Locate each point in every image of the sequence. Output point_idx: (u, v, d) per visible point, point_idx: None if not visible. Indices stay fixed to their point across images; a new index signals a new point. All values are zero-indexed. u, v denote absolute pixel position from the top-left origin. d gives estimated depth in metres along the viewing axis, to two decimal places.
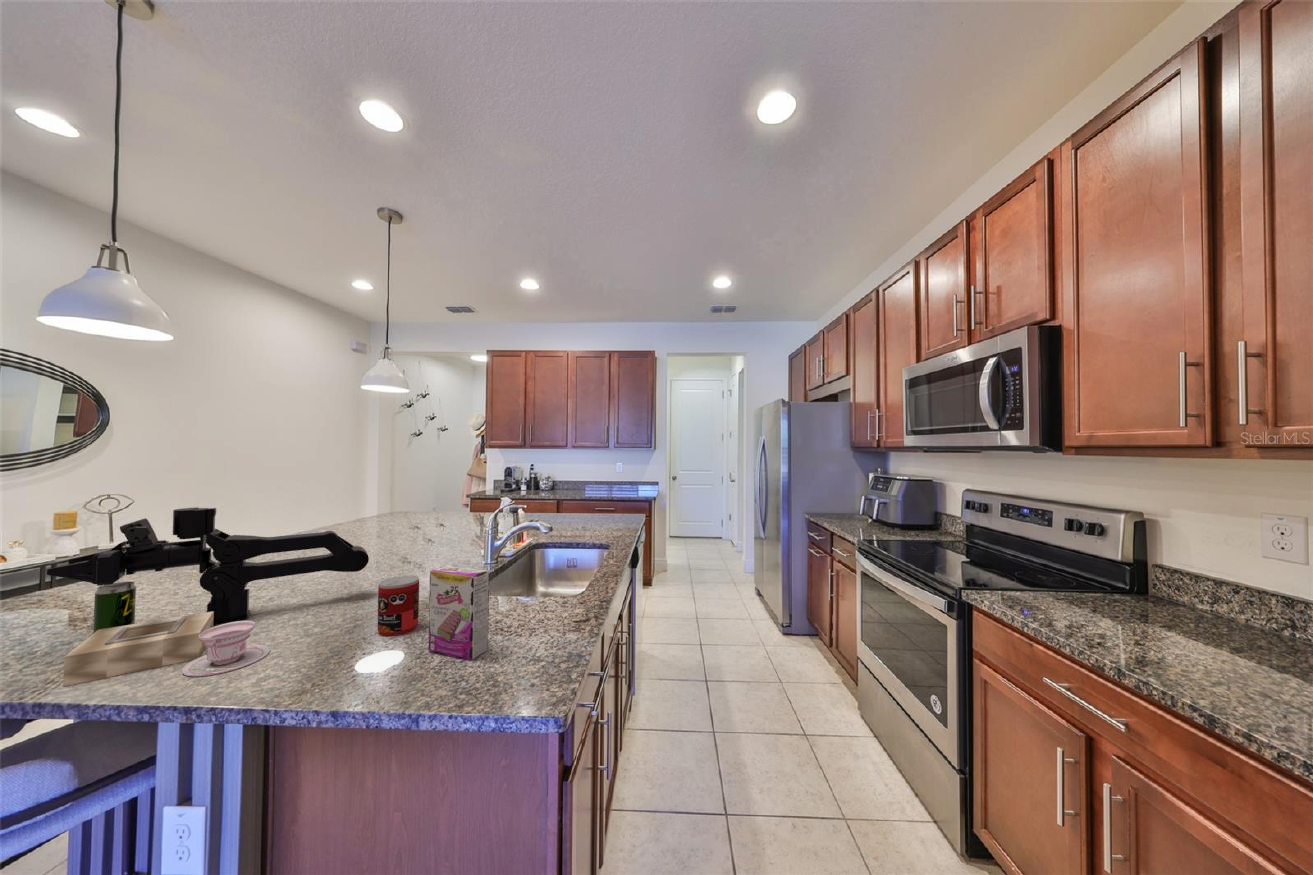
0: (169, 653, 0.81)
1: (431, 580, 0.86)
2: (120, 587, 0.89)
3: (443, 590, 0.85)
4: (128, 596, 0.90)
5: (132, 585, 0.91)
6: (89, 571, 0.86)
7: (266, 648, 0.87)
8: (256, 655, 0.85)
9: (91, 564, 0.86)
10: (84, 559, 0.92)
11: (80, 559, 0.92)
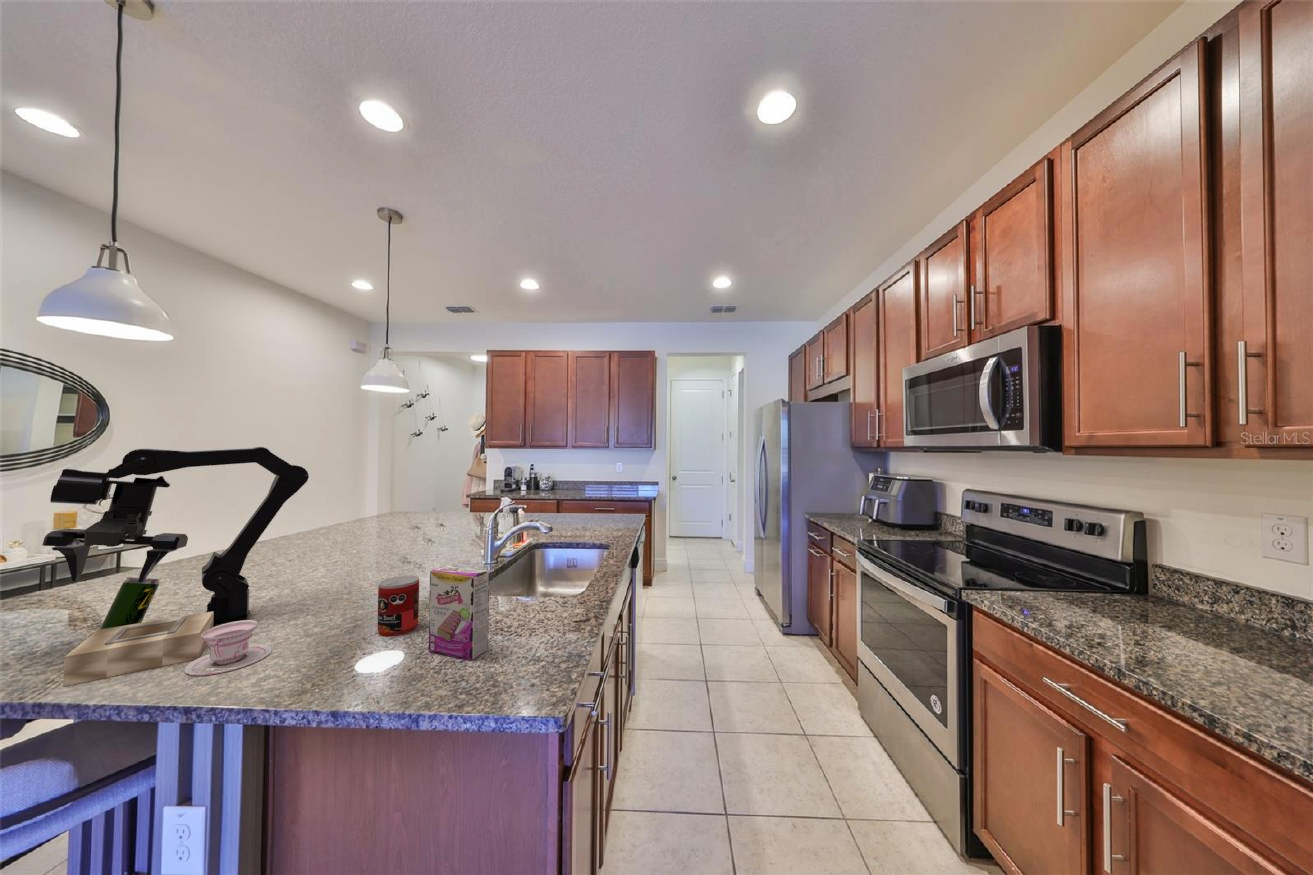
0: (169, 653, 0.81)
1: (431, 580, 0.86)
2: (148, 579, 0.93)
3: (443, 590, 0.85)
4: (150, 590, 0.93)
5: (157, 581, 0.95)
6: None
7: (269, 648, 0.87)
8: (258, 654, 0.85)
9: None
10: (78, 571, 0.88)
11: (76, 574, 0.87)
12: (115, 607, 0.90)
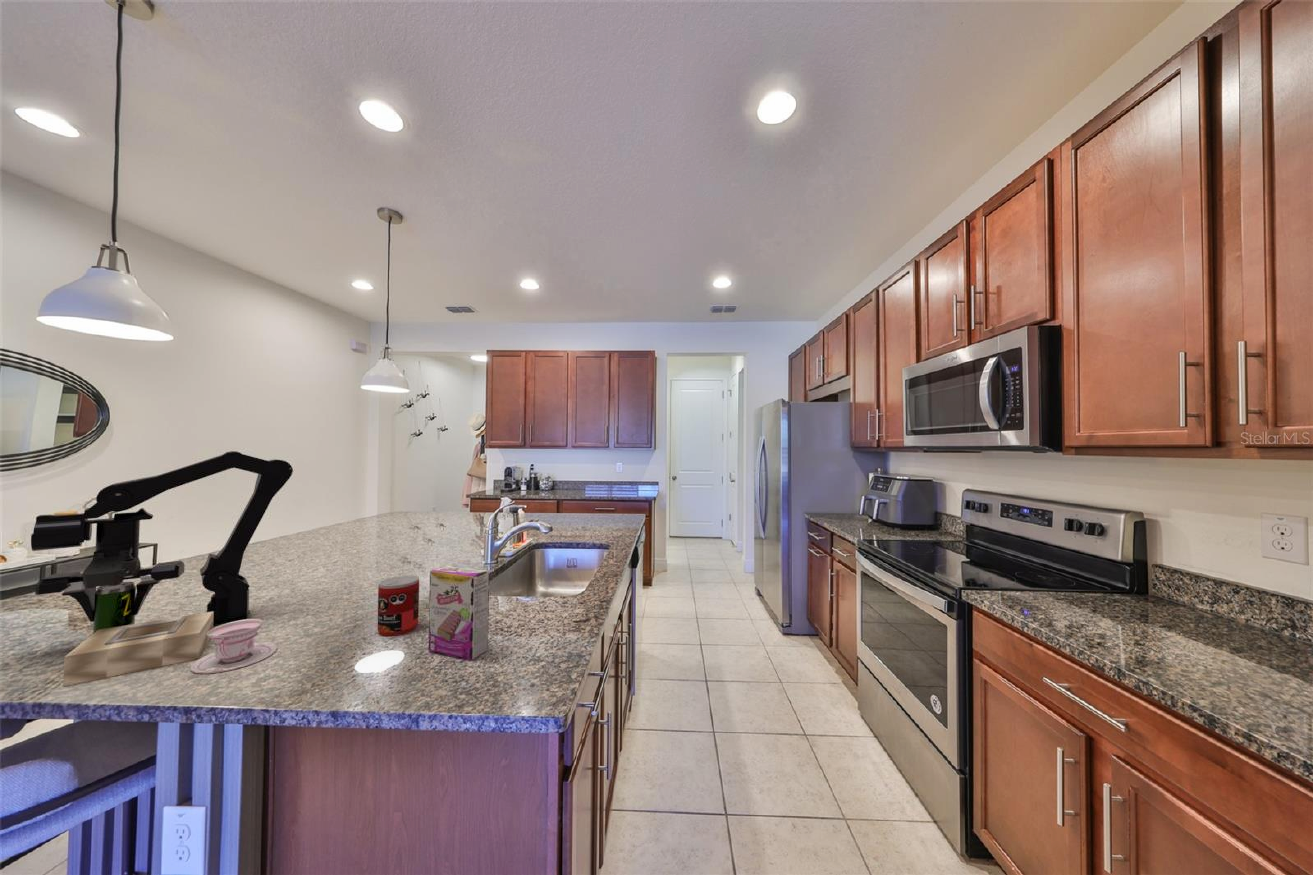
0: (169, 653, 0.81)
1: (431, 580, 0.86)
2: (120, 587, 0.89)
3: (443, 590, 0.85)
4: (128, 596, 0.90)
5: (132, 585, 0.91)
6: None
7: (274, 646, 0.88)
8: (263, 653, 0.86)
9: None
10: (93, 611, 0.88)
11: (92, 614, 0.88)
12: (98, 618, 0.87)
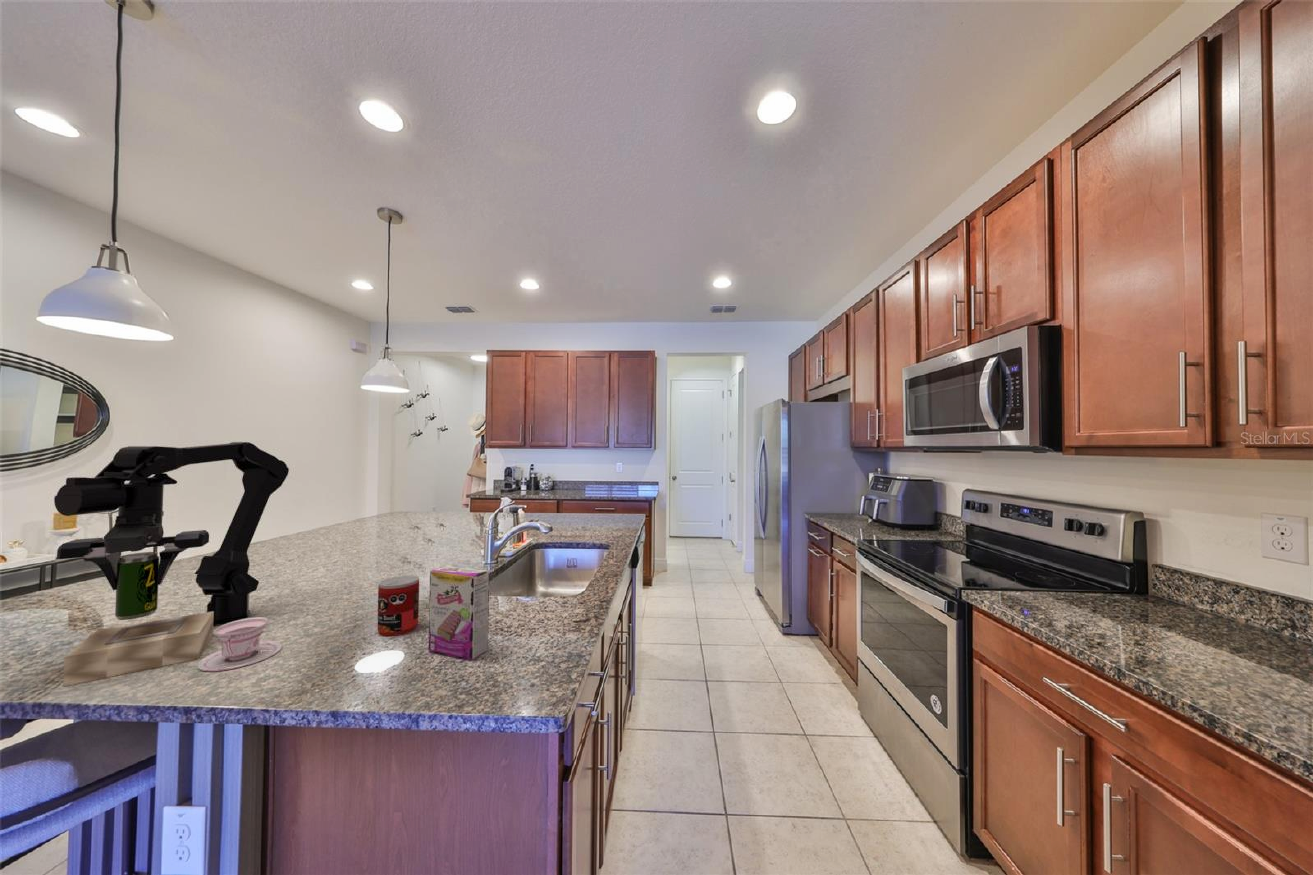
0: (169, 653, 0.81)
1: (431, 580, 0.86)
2: (143, 556, 0.85)
3: (443, 590, 0.85)
4: (151, 566, 0.86)
5: (155, 555, 0.87)
6: None
7: (279, 644, 0.88)
8: (269, 651, 0.86)
9: None
10: (116, 579, 0.84)
11: (115, 582, 0.84)
12: (120, 589, 0.83)
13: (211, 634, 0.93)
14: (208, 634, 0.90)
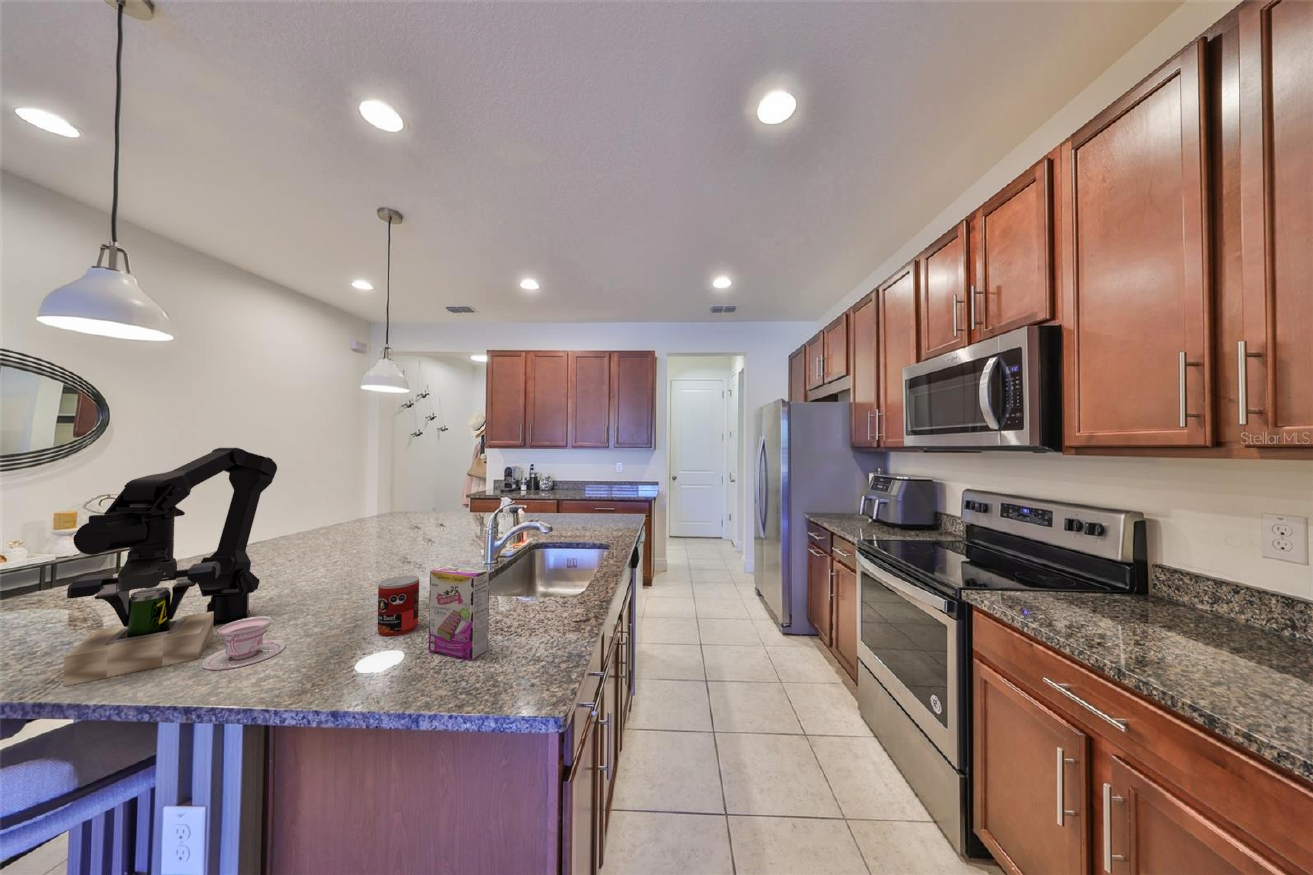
0: (169, 653, 0.81)
1: (431, 580, 0.86)
2: (155, 593, 0.83)
3: (443, 590, 0.85)
4: (163, 603, 0.84)
5: (167, 591, 0.85)
6: None
7: (282, 643, 0.89)
8: None
9: None
10: (127, 615, 0.82)
11: (126, 618, 0.82)
12: (132, 627, 0.81)
13: (211, 634, 0.93)
14: (208, 634, 0.90)
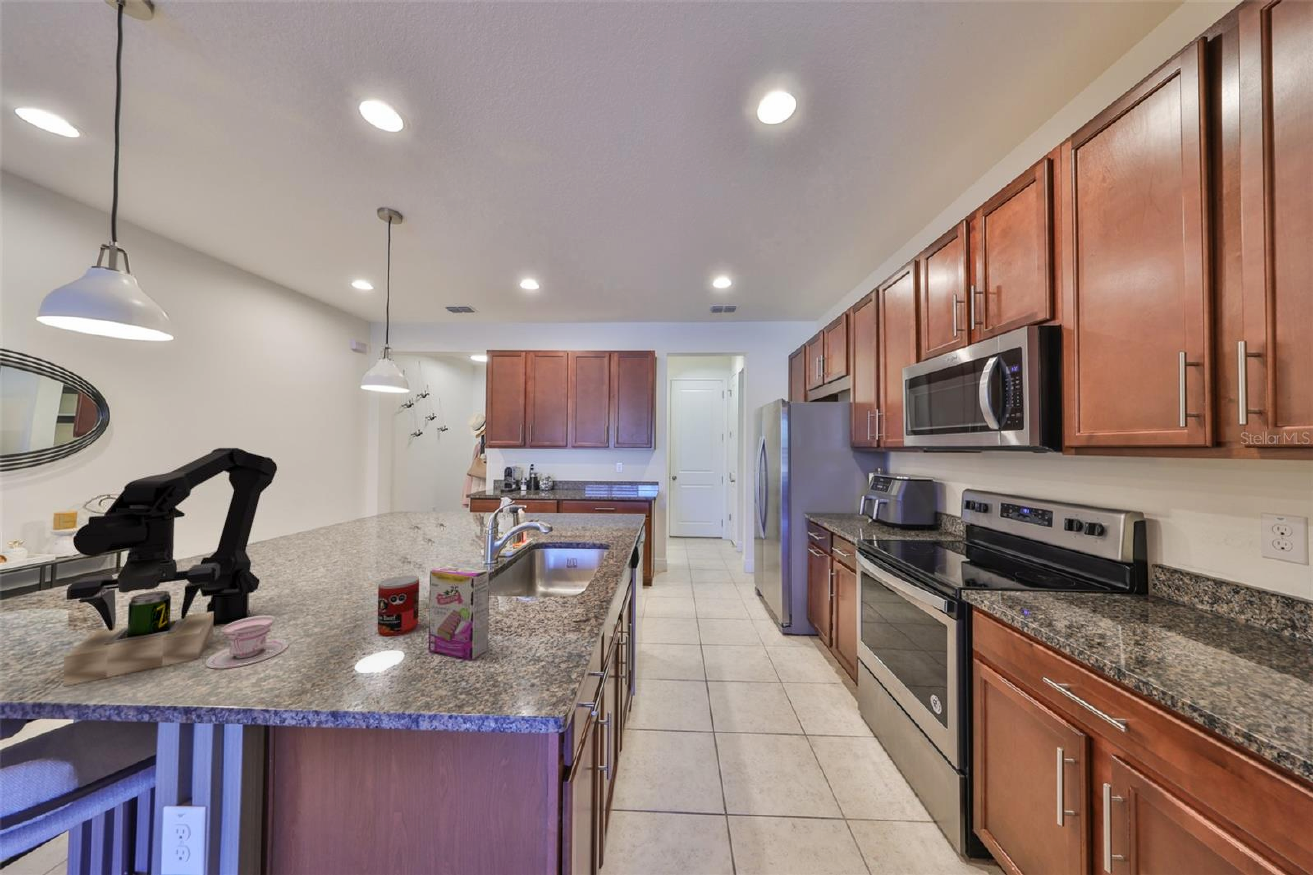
0: (169, 653, 0.81)
1: (431, 580, 0.86)
2: (155, 597, 0.83)
3: (443, 590, 0.85)
4: (163, 607, 0.84)
5: (167, 595, 0.85)
6: None
7: (285, 642, 0.89)
8: (275, 649, 0.87)
9: None
10: (112, 619, 0.81)
11: (111, 622, 0.81)
12: (132, 631, 0.81)
13: (211, 634, 0.93)
14: (208, 634, 0.90)
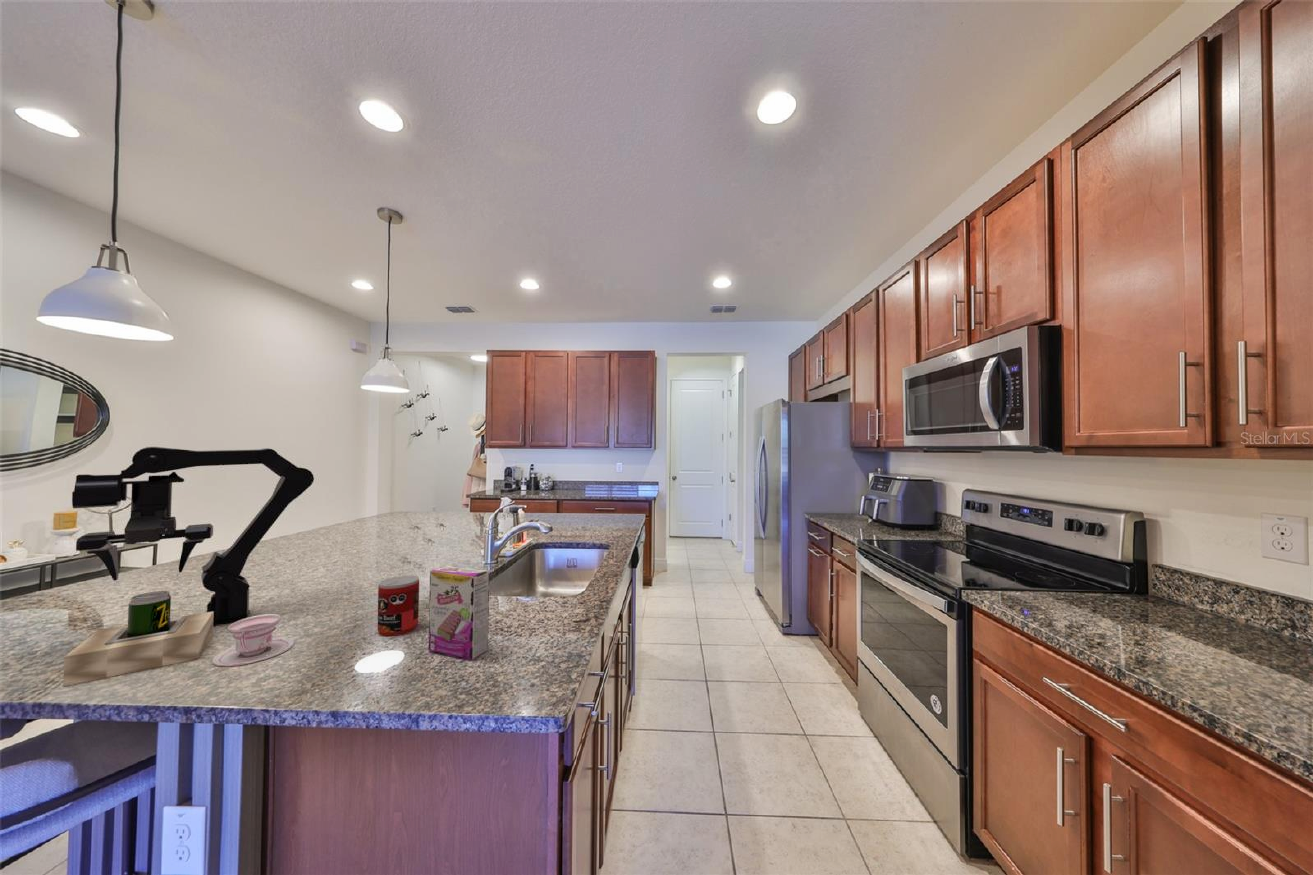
0: (169, 653, 0.81)
1: (431, 580, 0.86)
2: (155, 597, 0.83)
3: (443, 590, 0.85)
4: (163, 607, 0.84)
5: (167, 595, 0.85)
6: None
7: (291, 641, 0.90)
8: (281, 647, 0.88)
9: None
10: (116, 570, 0.90)
11: (115, 573, 0.90)
12: (132, 631, 0.81)
13: (211, 634, 0.93)
14: (208, 634, 0.90)
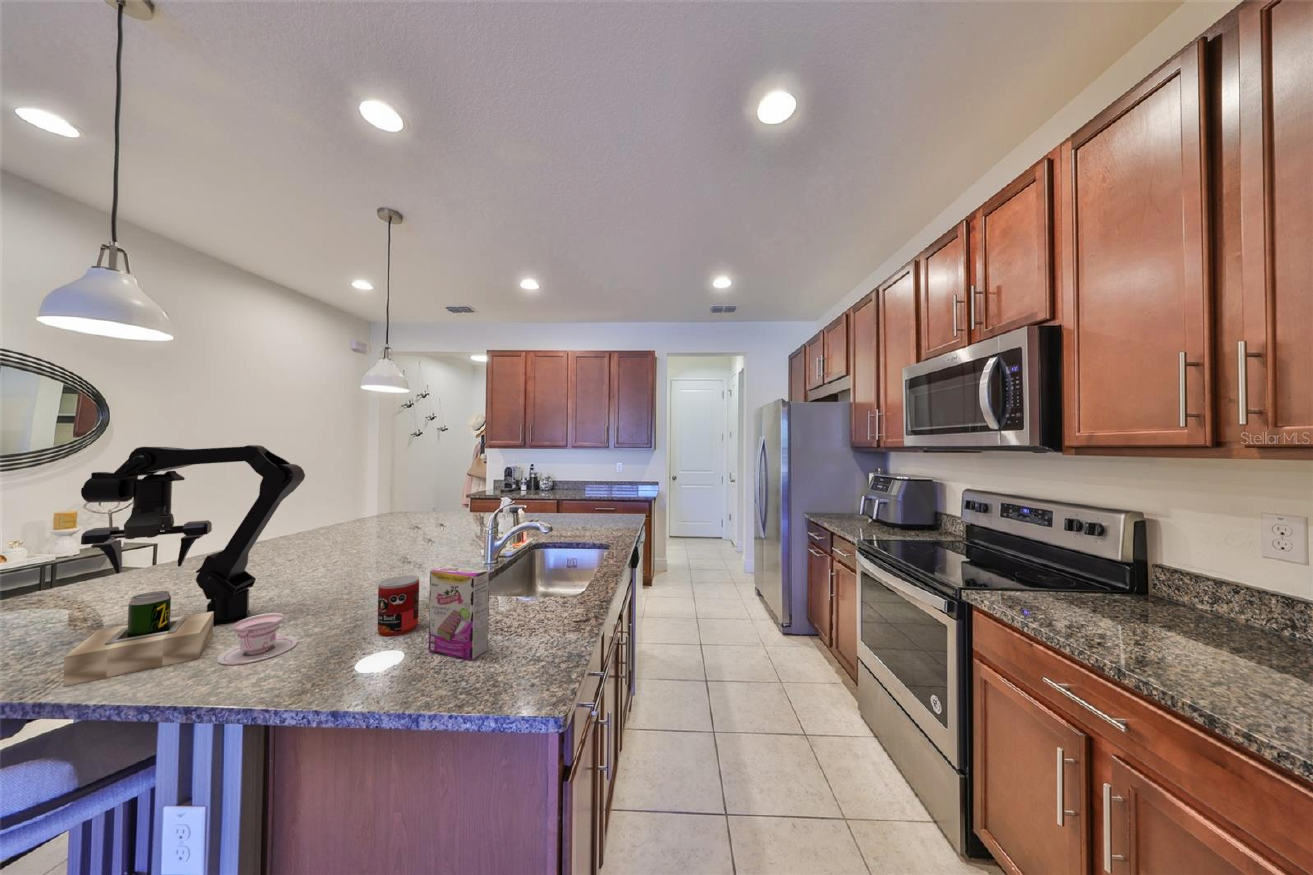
0: (169, 653, 0.81)
1: (431, 580, 0.86)
2: (155, 597, 0.83)
3: (443, 590, 0.85)
4: (163, 607, 0.84)
5: (167, 595, 0.85)
6: None
7: (295, 640, 0.91)
8: (285, 646, 0.89)
9: None
10: (119, 563, 0.95)
11: (118, 566, 0.95)
12: (132, 631, 0.81)
13: (211, 634, 0.93)
14: (208, 634, 0.90)
